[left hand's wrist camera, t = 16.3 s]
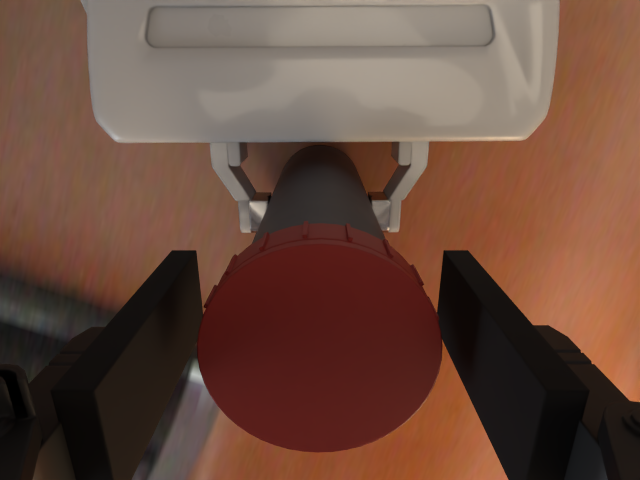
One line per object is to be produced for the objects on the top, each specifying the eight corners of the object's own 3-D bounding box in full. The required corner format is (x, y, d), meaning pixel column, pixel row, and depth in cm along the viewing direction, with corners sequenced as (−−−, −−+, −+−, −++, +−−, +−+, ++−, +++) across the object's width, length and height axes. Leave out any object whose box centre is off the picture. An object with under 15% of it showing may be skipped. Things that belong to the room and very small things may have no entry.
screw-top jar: (374, 193, 28) (459, 365, 11) (311, 236, 30) (300, 457, 12) (328, 128, 27) (343, 211, 10) (264, 176, 28) (174, 329, 11)
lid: (470, 343, 12) (491, 379, 11) (298, 443, 13) (295, 488, 12) (347, 172, 11) (351, 187, 9) (163, 305, 12) (140, 337, 10)
